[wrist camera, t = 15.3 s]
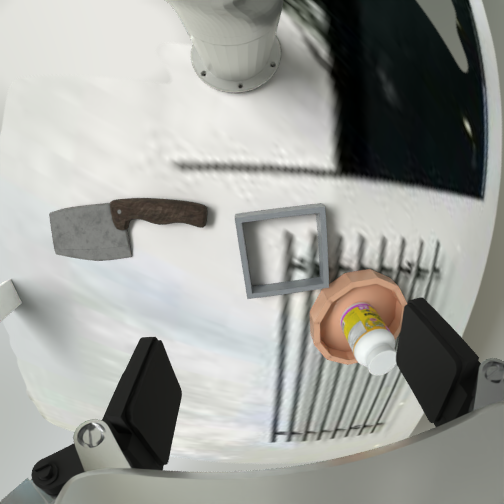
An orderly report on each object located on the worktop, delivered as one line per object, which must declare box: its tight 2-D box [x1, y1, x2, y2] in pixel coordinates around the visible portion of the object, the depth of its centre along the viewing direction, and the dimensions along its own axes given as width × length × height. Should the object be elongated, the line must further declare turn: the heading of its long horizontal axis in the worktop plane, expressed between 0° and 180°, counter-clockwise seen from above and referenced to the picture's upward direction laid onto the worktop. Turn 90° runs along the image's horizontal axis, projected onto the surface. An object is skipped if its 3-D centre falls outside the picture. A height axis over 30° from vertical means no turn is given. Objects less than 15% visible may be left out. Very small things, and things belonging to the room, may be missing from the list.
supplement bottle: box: [340, 302, 396, 375], centre depth 41 cm, size 7×7×13 cm
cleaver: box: [49, 198, 207, 261], centre depth 42 cm, size 29×10×2 cm, turn 94°
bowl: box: [310, 269, 407, 365], centre depth 47 cm, size 17×17×4 cm
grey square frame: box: [235, 203, 329, 299], centre depth 43 cm, size 13×13×2 cm
